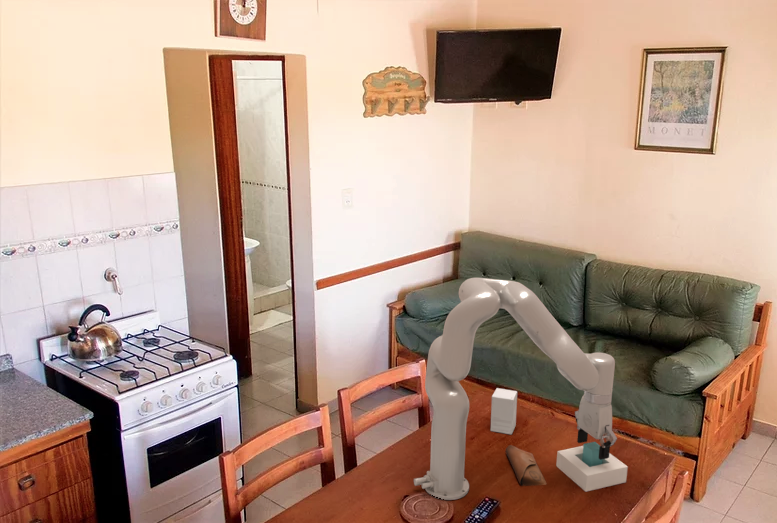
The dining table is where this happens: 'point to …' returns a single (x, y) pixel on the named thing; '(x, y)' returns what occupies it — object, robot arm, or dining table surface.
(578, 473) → the well block
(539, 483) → the sunglasses case
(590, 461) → the teal post
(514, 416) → the supplement box
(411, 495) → the dining table surface
